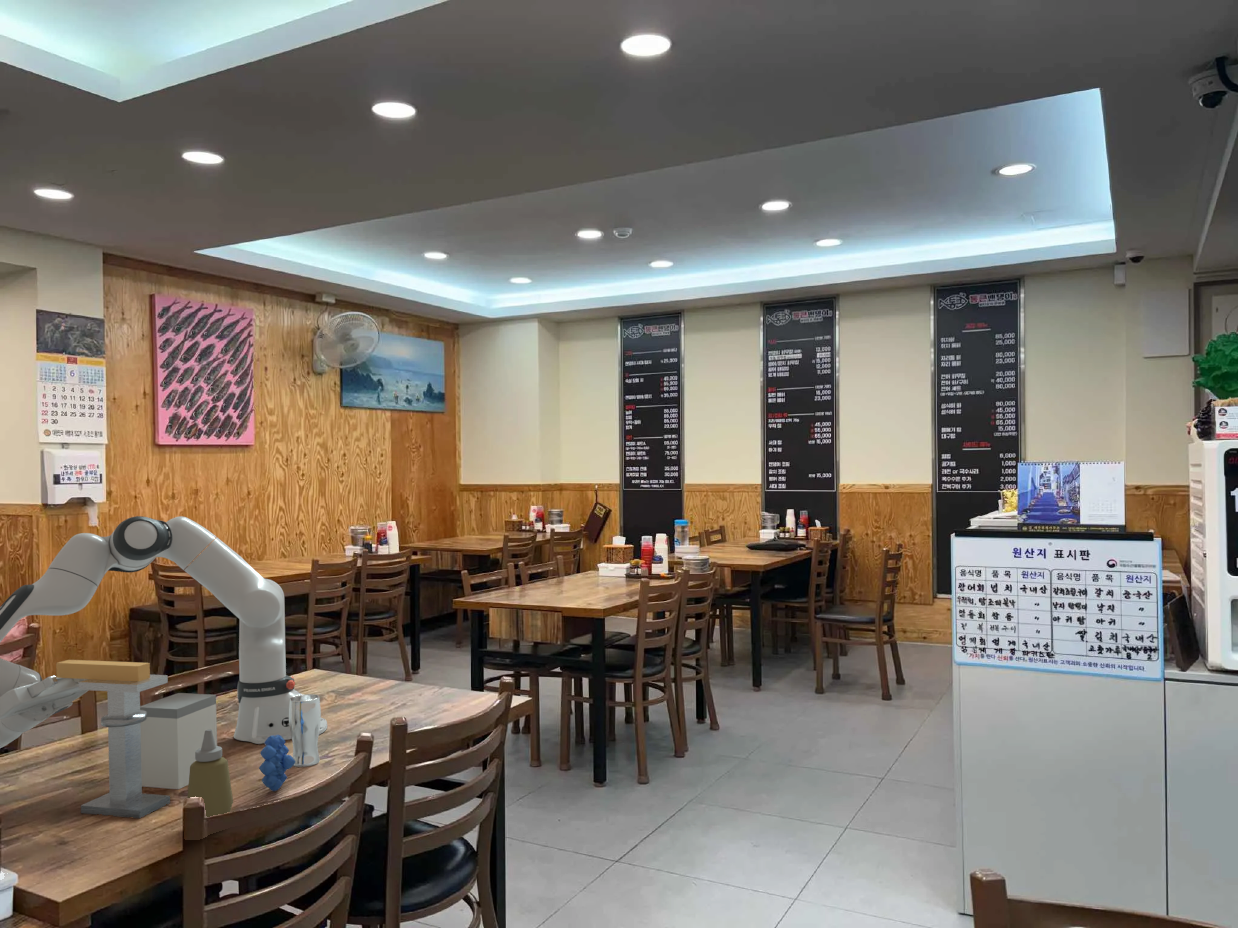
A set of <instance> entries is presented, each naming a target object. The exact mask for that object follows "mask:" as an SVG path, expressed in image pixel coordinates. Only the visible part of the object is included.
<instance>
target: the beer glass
mask: <svg viewBox="0 0 1238 928" xmlns="http://www.w3.org/2000/svg"><path fill="white" fill-rule="evenodd" d="M320 700H321V699H320V695H319V694H315V693H314V694H313V693H307V694H305V693H304V694H303V693H302V695H297V696H294V697H291V698H290V699H289V727H290V733H291V737H292V739H291V741H292V751H293V752H292V757H293V759H294V760H295V764H294V765H293V766H292V767H295V768H307V767H312V766H315V765H317V764H319V763H320V762H321V761H320V759H321V758H320V754H319V748H318V745H319V735H320V734H319V730H320V722H321V718H322V717H321V716H322V712H321V711H322V710H321V709H322V708H321V701H320Z"/></svg>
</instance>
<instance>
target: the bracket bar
mask: <svg viewBox="0 0 1238 928" xmlns="http://www.w3.org/2000/svg"><path fill="white" fill-rule="evenodd" d="M55 664H56V665H55V666H56V670H55V673H56V677H57V678H75V679H97V680H118V681H141V680H145V679H148V678H150V675H151V669H150V667H151V665H150V664H151V663H150V662H135V661H115V660H114V661H111V660H110V661H108V660H88V659H87V660H84V659H83V660H82V659H66V660H62V661H59V662H56V663H55Z"/></svg>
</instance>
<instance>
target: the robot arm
mask: <svg viewBox="0 0 1238 928" xmlns="http://www.w3.org/2000/svg"><path fill="white" fill-rule="evenodd" d="M156 558H164V559H167V560H169V561H171V562H174V563H175V564H176V565H177V567H179V568H180V569H181V570H183V571H184V572H185V573H186V574H188V575H189V576H190V577H191V578H192V579H194V580H195V581H196V582H198V583H199V584H200V585H201V586H202V587H204V589H205V588H206V590H207V591H209V592H210V593H211V594H212V595H213V596H214V597H215V598H216V599H217V600H218V601H219V602H220V603H221V604H222V605H223V606H224V607H225V608H226V609H228V610H229V611H230V612H231V613H232V614H233V615H234V616H235V617H236V618H238V619H239V623H238V624H239V627H238V628H239V630H238V631H239V632H238V637H239V638H238V640H239V641H238V642H239V643H238V661H239V663H238V665H239V666H238V667H239V679H238V681H237V701H238V713H237V721H236V726H235V731H234V734H233V738H234V739H235V740H237V741H241V742H250V743H253V744H258V745H261V744H265V741H266V740H267V738H268V737H270V736H272V735H274V736H275V735H280V736H282V737H283V739H284V740H285V741H287V740H292V737H291V733H290V727H289V699H290V698H291V697H294V696H297V695H303V693H301V692H299V691H297V690H296V689H295V687H296V686H295V685H296V682H295V678H294V676H293V675H292V676H290V675H287V673H286V672H287V669H286V668H287V667H286V666H287V663H286V623H285V622H286V621H285V620H286V619H285V618H286V614H285V606H286V605H285V602H286V601H285V593H284V591H283V589H282V587H281V586H280V584H278V582H275V581H274V580H272V579H268V578H265V577H263V576H262V575H261V574H260V573H259V572H257V571H256V569H254V567H252V566H251V565H250V564H249V563H248V562H247V561H246V560H245V559H244V558H243V557H242V556H241V555H240V554H238V553H237V552H236V551H235V550H234V549H232V548H231V547H230V546H229V545H227V544H226V543H225V542H223V541H222V540H221V539H220V538H219V537H217V536H216V535H215V534H214V533H212V532H211V531H210V530H208V529H207V528H206V527H204V526H202V525H201V524H199V523H198V522H196V521H194V520H192V519H190V518H188V517H186V516H181V515H180V516H176V517H172V518H170V519H168V520H167V521H164V520H160V519H155V518H154V519H153V518H151V517H148V516H141V515H137V516H131V517H129V518H126V519H124V520H122V521H121V522H119V524H118V525H117V526H116V527H115V529H114V530H113V532H112V533H111V534H110V535H107V536H100V535H97V534H95V533H90V532H82V533H77V534H74V535H73V536H72V537H71V538H70V539H69V540H67V542H66V543H65V544H64V545H63V546H62V548H60V551H59V552H58V553H57V554H56V555H55V557H54V558H53V560H52V562H51V563H50V565H49V566H48V568H47V570H46V571H45V572H44V574H42V576H41V577H40V578H39V579H38V580H36V581H35V582H34V583H31V584H24V585H22V586H20V587H19V588H17V589H16V590H14V592H13V593H12V594H11V595H9V596H8V597H7V599H6V600H5V601H4V602H3V603H2V604H1V605H0V643H1V642H2V641H3V640H4V639H5V638H6V636H7V635H8V634H9V633H10V631H11V630H12V629H13V628H14V627H15V625H16V624H18V622H19V621H20V620H21V619H24V618H25V617H29V616H53V617H54V616H68V615H72V614H74V613H77V612H80V611H81V610H83V609H85V608H86V606H87V605H88V604H89V603H90V602H91V600H92V598H93V596H94V595H95V593H96V591H97V589H98V588H99V586H100V584H101V582H102V580H103V579H104V577H105V575H106V573H107V572H109V571H110V572H121V573H137V572H140V571H143V570H144V569H146V568H147V567H148V566H150V564H151V563H152V562H153V561H154V560H156ZM84 680H87V679H75V678H57V675H51V676H50V675H49V676H47V677H46V678H44V679H43V678H42V676H41V673H40V672H38V671H36V670H34V669H31V668H28V667H26V666H23V665H21V664H18V663H14V662H12V661H8V660H7V659H4V658H1V657H0V749H1V748H3V747H5V746H7V745H8V744H11V743H12V742H13V741H14V740H16V739H18V738H20V736H21V735H22V734H23V733H25V732H28V731H29V730H31V729H33V728H34V727H36V726H37V725H39V724H40V723H43V722H44V721H45V720H47V719H49V718H50V717H51V716H54V715H56V714H57V713H60V712H62V711H64V710H67V709H68V708H70V707H72V706H73V704H74V701H75V700H77V699H79V698H81V697H82V696H83V695H84V694H86V693H87V692H88V691H89V690H79V689H78V682H81V681H84ZM327 729H328V722H327V719H326V718H323V717H321V722H320V730H319V735H321V734H323V733H324V732H325V731H326V730H327Z"/></svg>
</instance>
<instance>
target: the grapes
mask: <svg viewBox="0 0 1238 928" xmlns="http://www.w3.org/2000/svg"><path fill="white" fill-rule="evenodd" d="M264 745H265V746H264V747H263V748H261V751H260V752H259V753H260V756H261V758H263V759H264V761H263V762H262V763H261V764H260V765H259V767H258V769H259V770H260V772H261V774H262V775H264V776H263V777H262V779H261V782H262V784H263V785H264V787H266V788H268V789H269V790H270V791H271V792H277V791H278V790H280V788H281V787H282V786H283V784H284V783H285V782H286V780H287V779H288V776H287V775H286V771H287V770H290V769H291V768H293V767H294V766H293V765H294V764H295V760H294V759H293V755H290V754H288V753H289V752H290V750H289V748H288V746H287V745H286V740H284V739H283V737H282V736H280V735H275V736H274V735H272V736H270V737H268V738H267V740H266V741H265V743H264Z"/></svg>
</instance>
